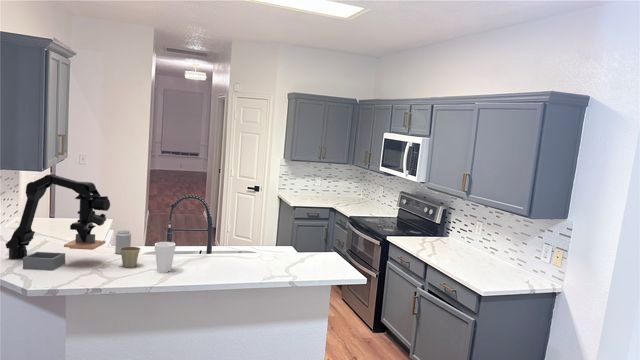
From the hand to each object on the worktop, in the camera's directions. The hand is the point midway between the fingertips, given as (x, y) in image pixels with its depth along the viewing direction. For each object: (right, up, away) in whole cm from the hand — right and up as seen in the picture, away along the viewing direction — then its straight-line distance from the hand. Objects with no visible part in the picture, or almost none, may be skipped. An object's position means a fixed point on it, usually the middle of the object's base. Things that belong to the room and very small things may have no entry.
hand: (85, 241), depth 215 cm
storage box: (-15, -11, -7) cm, 20 cm away
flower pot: (+19, -13, +5) cm, 24 cm away
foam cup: (+37, -15, +1) cm, 40 cm away
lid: (0, -2, 0) cm, 2 cm away
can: (+6, -10, +28) cm, 31 cm away
